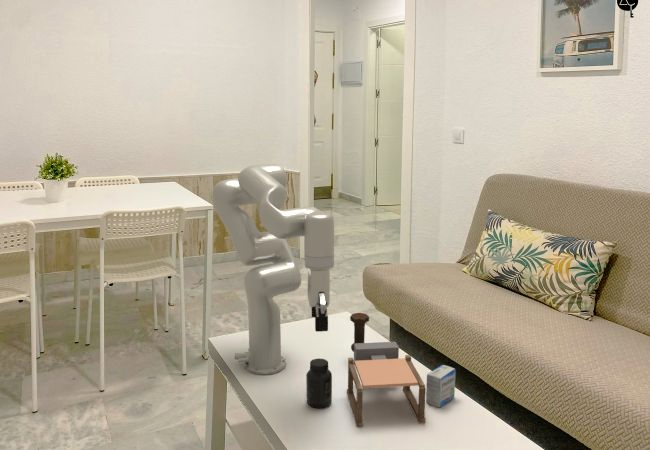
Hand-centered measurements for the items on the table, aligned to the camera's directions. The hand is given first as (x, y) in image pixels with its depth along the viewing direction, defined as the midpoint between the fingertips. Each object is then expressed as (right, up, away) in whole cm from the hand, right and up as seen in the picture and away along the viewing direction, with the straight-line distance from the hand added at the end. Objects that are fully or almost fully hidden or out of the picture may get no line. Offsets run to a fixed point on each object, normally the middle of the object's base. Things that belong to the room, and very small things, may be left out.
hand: (319, 323), depth 156 cm
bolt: (+12, -17, +30) cm, 37 cm away
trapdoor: (+17, -15, +5) cm, 23 cm away
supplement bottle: (0, -23, +5) cm, 23 cm away
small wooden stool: (+17, -23, +3) cm, 29 cm away
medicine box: (+33, -22, +7) cm, 40 cm away
